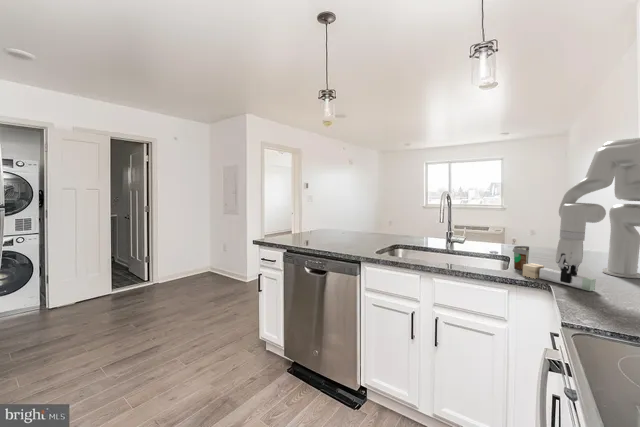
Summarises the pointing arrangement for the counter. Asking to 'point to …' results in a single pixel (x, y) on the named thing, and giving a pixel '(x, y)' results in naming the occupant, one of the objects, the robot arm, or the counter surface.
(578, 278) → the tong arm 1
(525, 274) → the hinge block
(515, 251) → the food container
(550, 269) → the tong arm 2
